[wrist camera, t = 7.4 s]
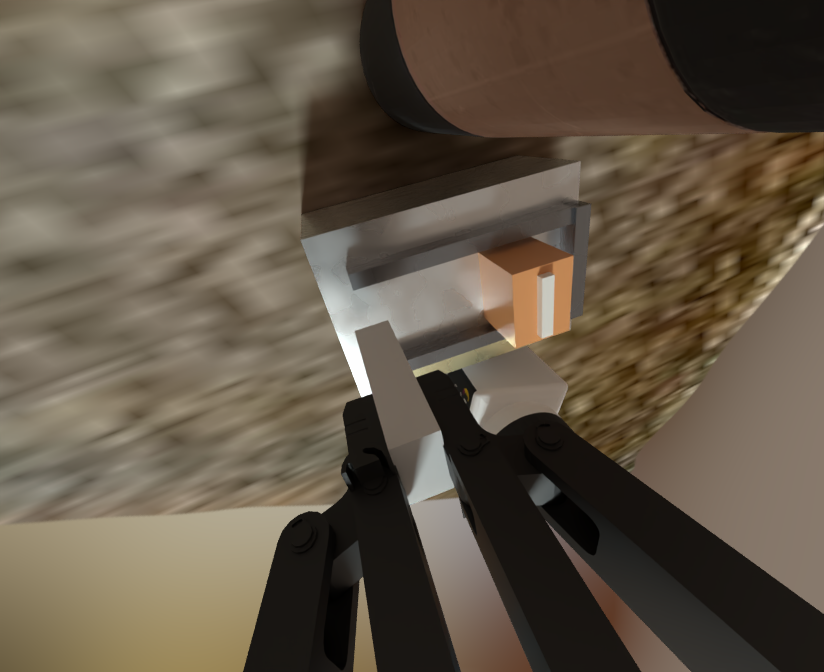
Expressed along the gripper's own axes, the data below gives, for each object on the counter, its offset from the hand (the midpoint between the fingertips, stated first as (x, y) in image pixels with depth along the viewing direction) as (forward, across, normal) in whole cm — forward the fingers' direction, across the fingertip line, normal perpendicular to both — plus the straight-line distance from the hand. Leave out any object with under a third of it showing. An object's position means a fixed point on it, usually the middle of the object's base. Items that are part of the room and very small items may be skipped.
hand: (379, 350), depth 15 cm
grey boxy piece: (+9, +5, 0) cm, 11 cm away
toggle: (+3, +8, 0) cm, 9 cm away
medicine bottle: (+9, +7, -11) cm, 16 cm away
